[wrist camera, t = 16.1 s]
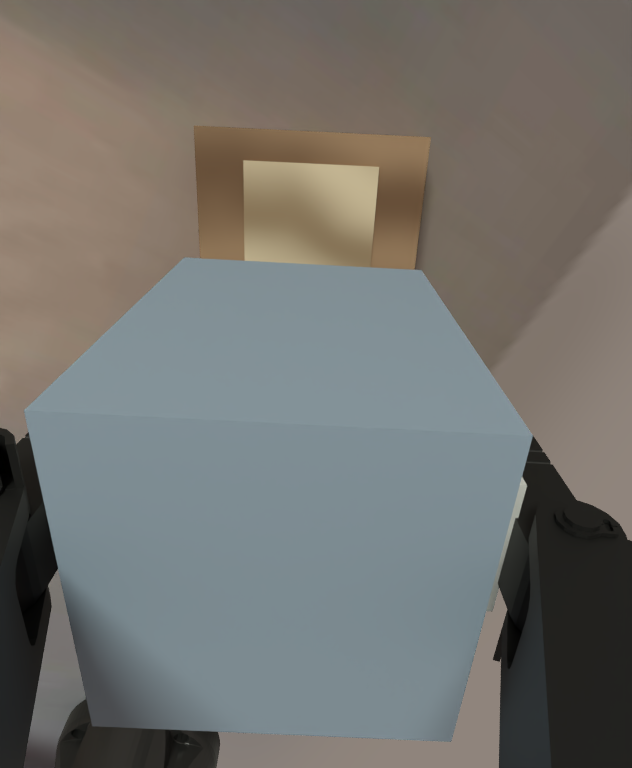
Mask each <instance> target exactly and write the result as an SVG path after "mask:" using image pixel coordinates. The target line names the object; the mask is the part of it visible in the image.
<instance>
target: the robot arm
mask: <svg viewBox="0 0 632 768" xmlns="http://www.w3.org/2000/svg"><path fill="white" fill-rule="evenodd" d="M25 436H26V437H25V438H22V439H21V440H20V441H19V442H18V443H17V445H16V442H15V438H14V435H13V434H12V433H10V432H9V431H8V430H7V429H2V428H0V768H23V766H24V760H25V754H26V749H27V743H28V737H29V732H30V726H31V720H32V715H33V709H34V703H35V698H36V692H37V686H38V681H39V675H40V669H41V664H42V658H43V652H44V647H45V641H46V635H47V630H48V624H49V618H50V612H51V597H50V592H49V588H48V584H49V582H50V581H51V579H52V577H53V576H54V574H55V572H56V571H57V569H58V565H57V561H56V556H55V552H54V547H53V542H52V538H51V533H50V528H49V524H48V519H47V515H46V510H45V505H44V501H43V496H42V491H41V487H40V482H39V478H38V473H37V468H36V464H35V459H34V454H33V450H32V445H31V441H30V436H29V432H28V433H27V434H26V435H25ZM499 588H500V591H501V593H502V596H503V598H504V601H505V604H506V606H507V609H508V610H507V613H506V616H505V620H504V623H503V627H502V630H501V634H500V637H499V640H498V644H497V647H496V651H495V654H494V657H493V660H495V661H500V659H501V693H500V744H499V768H632V541H630V540H627V537H626V534H625V533H624V531H623V529H622V527H621V526H620V524H619V523H618V522H616V521H615V520H614V519H613V518H612V517H611V516H609V515H608V514H607V513H605V512H603V511H602V510H600V509H598V508H596V507H594V506H592V505H589V504H587V503H583V502H580V501H577V500H576V499H575V497H574V496H573V495H572V493H571V491H570V490H569V488H568V487H567V485H566V484H565V483H564V481H563V479H562V478H561V476H560V475H559V474H558V472H557V471H556V469H555V468H554V466H553V465H551V464H550V460H549V459H548V457H547V456H546V454H545V453H544V452H542V448H541V447H540V445H539V444H538V442H537V441H536V439H535V438H534V437H532V441H531V445H530V449H529V452H528V456H527V460H526V464H525V467H524V471H523V475H522V478H521V482H520V486H519V490H518V493H517V497H516V501H515V505H514V508H513V512H512V516H511V520H510V523H509V527H508V531H507V535H506V538H505V542H504V546H503V550H502V553H501V557H500V561H499V565H498V568H497V572H496V576H495V580H494V583H493V587H492V591H491V595H490V598H489V602H488V606H487V610H486V611H493V608H494V604H495V600H496V597H497V593H498V589H499ZM219 747H220V739H219V735H218V732H214V731H191V730H168V729H145V728H122V727H99V726H92V723H91V718H90V713H89V709H88V704H87V700H84V701H83V702H81V703H80V704H79V705H77V706H76V707H75V708H74V710H73V711H72V712H71V714H70V715H69V717H68V720H67V722H66V724H65V727H64V729H63V731H62V734H61V736H60V738H59V741H58V745H57V750H56V759H55V767H54V768H216V766H217V759H218V754H219Z"/></svg>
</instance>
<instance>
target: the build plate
mask: <svg viewBox="0 0 632 768" xmlns="http://www.w3.org/2000/svg"><path fill="white" fill-rule="evenodd" d="M194 139H195V160H196V181H197V202H198V223H199V244H200V258H202V259H221V260H240V261H259V262H277V263H296V264H315V265H334V266H353V267H372V268H390V269H409V270H415V262H416V254H417V245H418V237H419V229H420V221H421V213H422V205H423V197H424V189H425V181H426V172H427V164H428V156H429V148H430V140H431V137H414V136H393V135H373V134H352V133H332V132H312V131H291V130H271V129H250V128H230V127H210V126H194Z"/></svg>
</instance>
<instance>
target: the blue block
mask: <svg viewBox="0 0 632 768" xmlns="http://www.w3.org/2000/svg"><path fill="white" fill-rule="evenodd" d="M24 413H25V417H26V422H27V427H28V431H29V436H30V441H31V445H32V450H33V454H34V459H35V464H36V468H37V473H38V478H39V482H40V487H41V491H42V496H43V501H44V505H45V510H46V515H47V519H48V524H49V528H50V533H51V538H52V542H53V547H54V552H55V556H56V561H57V565H58V570H59V575H60V579H61V584H62V589H63V593H64V598H65V602H66V607H67V612H68V616H69V621H70V626H71V630H72V635H73V639H74V644H75V649H76V653H77V658H78V663H79V667H80V672H81V676H82V681H83V686H84V690H85V695H86V700H87V704H88V709H89V713H90V718H91V723H92V726H99V727H122V728H145V729H168V730H191V731H214V732H238V733H261V734H283V735H306V736H329V737H352V738H353V737H354V738H375V739H399V740H423V741H447V742H451V741H452V737H453V733H454V729H455V726H456V721H457V718H458V714H459V711H460V707H461V703H462V699H463V695H464V692H465V688H466V684H467V681H468V677H469V673H470V669H471V666H472V662H473V658H474V654H475V651H476V647H477V643H478V640H479V635H480V632H481V628H482V624H483V620H484V617H485V613H486V610H487V606H488V602H489V598H490V595H491V591H492V587H493V583H494V580H495V576H496V572H497V568H498V565H499V561H500V557H501V553H502V550H503V546H504V542H505V538H506V535H507V531H508V527H509V523H510V520H511V516H512V512H513V508H514V505H515V501H516V497H517V493H518V490H519V486H520V482H521V478H522V475H523V471H524V467H525V464H526V460H527V456H528V452H529V449H530V445H531V441H532V437H533V435H532V434H531V432H530V431H529V429H528V428H527V426H526V425H525V423H524V422H523V420H522V419H521V418H520V416H519V414H518V413H517V412H516V410H515V409H514V407H513V406H512V404H511V403H510V401H509V400H508V398H507V397H506V395H505V394H504V392H503V391H502V389H501V388H500V386H499V385H498V383H497V382H496V380H495V379H494V377H493V376H492V374H491V373H490V371H489V370H488V368H487V367H486V365H485V364H484V363H483V361H482V360H481V358H480V357H479V355H478V354H477V352H476V351H475V349H474V348H473V346H472V345H471V343H470V342H469V340H468V339H467V337H466V336H465V334H464V333H463V331H462V330H461V328H460V327H459V325H458V324H457V322H456V321H455V319H454V318H453V317H452V315H451V314H450V312H449V311H448V309H447V308H446V306H445V305H444V303H443V302H442V300H441V299H440V297H439V296H438V294H437V293H436V291H435V290H434V288H433V287H432V285H431V284H430V282H429V281H428V279H427V278H426V276H425V275H424V273H423V272H422V271H421V270H409V269H390V268H372V267H353V266H334V265H315V264H296V263H277V262H259V261H240V260H221V259H202V258H183V259H182V260H181V261H180V262H179V263H178V264H177V265H176V266H175V267H174V268H173V269H172V270H171V271H170V272H169V273H167V274H166V275H165V276H164V277H163V278H162V279H161V280H160V281H159V282H158V283H157V284H156V285H155V286H154V287H153V288H152V289H151V290H150V291H149V292H148V293H147V294H145V295H144V296H143V297H142V298H141V299H140V300H139V301H138V302H137V303H136V304H135V305H134V306H133V307H132V308H131V309H130V310H129V311H128V312H127V313H126V314H125V315H123V316H122V317H121V318H120V319H119V320H118V321H117V322H116V323H115V324H114V325H113V326H112V327H111V328H110V329H109V330H108V331H107V332H106V333H105V334H104V335H103V336H101V337H100V338H99V339H98V340H97V341H96V342H95V343H94V344H93V345H92V346H91V347H90V348H89V349H88V350H87V351H86V352H85V353H84V354H83V355H82V356H81V357H79V358H78V359H77V360H76V361H75V362H74V363H73V364H72V365H71V366H70V367H69V368H68V369H67V370H66V371H65V372H64V373H63V374H62V375H61V376H60V377H59V378H57V379H56V380H55V381H54V382H53V383H52V384H51V385H50V386H49V387H48V388H47V389H46V390H45V391H44V392H43V393H42V394H41V395H40V396H39V397H38V398H37V399H35V400H34V401H33V402H32V403H31V404H30V405H29V406H28V407H27V408H26V409H25V410H24Z"/></svg>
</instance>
